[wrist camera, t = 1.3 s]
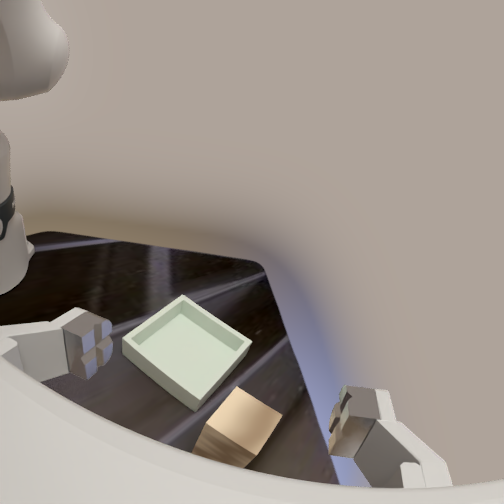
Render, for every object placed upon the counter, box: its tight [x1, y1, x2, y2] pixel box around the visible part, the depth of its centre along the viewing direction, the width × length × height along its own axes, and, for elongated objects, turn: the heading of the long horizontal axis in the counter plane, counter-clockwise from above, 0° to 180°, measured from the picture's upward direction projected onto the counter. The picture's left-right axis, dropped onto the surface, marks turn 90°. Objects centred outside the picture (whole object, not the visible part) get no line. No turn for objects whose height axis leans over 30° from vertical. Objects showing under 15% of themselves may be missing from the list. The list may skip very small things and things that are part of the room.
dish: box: [122, 295, 252, 412], centre depth 41 cm, size 13×13×4 cm
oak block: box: [192, 386, 282, 468], centre depth 28 cm, size 5×5×12 cm
